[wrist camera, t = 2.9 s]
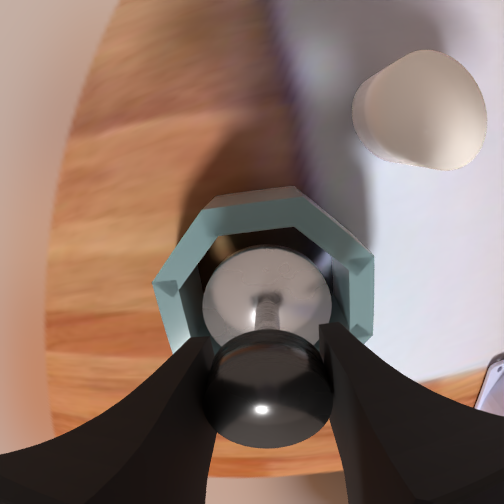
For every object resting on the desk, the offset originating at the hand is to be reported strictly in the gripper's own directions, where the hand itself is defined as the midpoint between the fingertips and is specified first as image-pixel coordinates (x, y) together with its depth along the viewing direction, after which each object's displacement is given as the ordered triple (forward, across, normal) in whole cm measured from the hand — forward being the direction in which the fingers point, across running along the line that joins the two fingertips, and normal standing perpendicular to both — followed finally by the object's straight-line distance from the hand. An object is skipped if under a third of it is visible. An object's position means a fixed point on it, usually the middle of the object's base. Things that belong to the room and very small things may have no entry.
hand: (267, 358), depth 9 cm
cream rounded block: (+6, -7, -7) cm, 12 cm away
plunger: (+4, 0, 0) cm, 4 cm away
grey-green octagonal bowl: (+6, 0, 0) cm, 6 cm away
